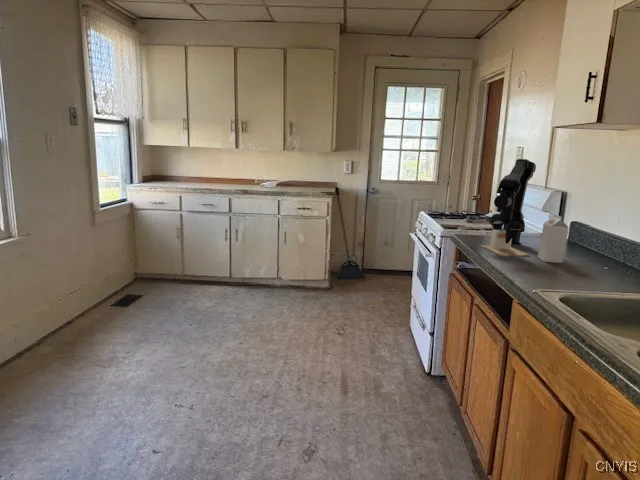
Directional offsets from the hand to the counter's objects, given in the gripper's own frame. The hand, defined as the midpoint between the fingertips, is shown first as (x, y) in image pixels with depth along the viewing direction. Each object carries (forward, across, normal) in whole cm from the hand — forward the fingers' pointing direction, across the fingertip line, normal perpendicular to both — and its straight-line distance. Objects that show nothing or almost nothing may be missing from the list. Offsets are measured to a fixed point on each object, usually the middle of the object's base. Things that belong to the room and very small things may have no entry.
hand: (501, 240), depth 196 cm
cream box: (+3, 0, 0) cm, 3 cm away
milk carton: (+4, +18, +12) cm, 22 cm away
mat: (+4, +4, 0) cm, 6 cm away
